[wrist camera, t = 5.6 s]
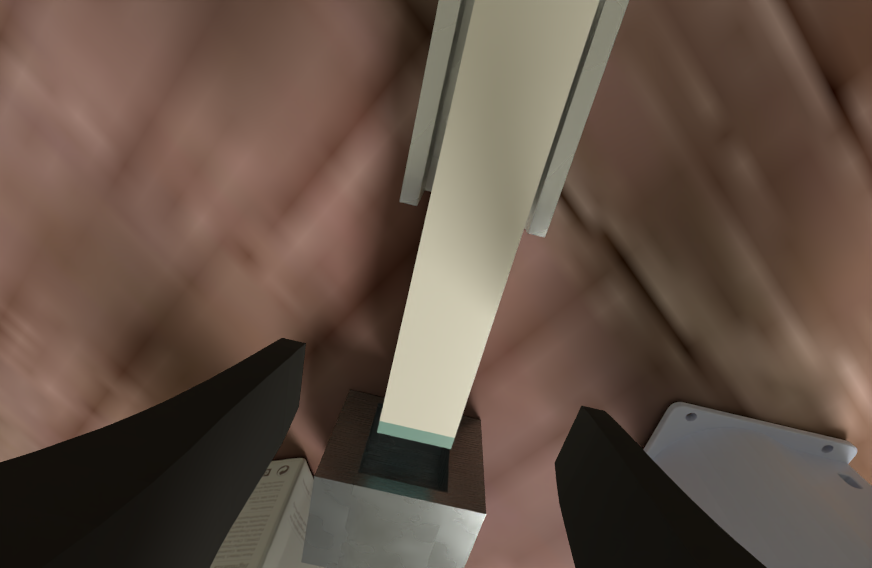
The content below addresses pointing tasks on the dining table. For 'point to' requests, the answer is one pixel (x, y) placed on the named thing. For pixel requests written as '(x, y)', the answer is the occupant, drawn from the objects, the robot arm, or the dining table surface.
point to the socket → (394, 495)
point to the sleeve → (440, 91)
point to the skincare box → (271, 521)
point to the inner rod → (480, 203)
